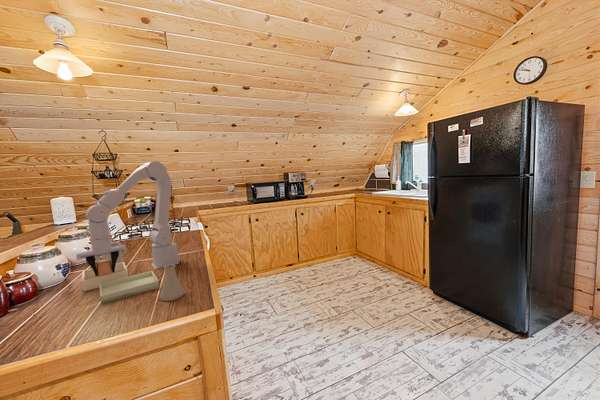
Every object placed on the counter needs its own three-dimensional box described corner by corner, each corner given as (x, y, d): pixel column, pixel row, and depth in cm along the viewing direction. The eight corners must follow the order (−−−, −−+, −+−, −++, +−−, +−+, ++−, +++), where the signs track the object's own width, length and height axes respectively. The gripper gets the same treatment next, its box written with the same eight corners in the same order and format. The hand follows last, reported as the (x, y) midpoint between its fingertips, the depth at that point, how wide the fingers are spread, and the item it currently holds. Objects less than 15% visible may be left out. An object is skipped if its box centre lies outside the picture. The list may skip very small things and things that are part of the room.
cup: (119, 266, 111) (117, 246, 110) (92, 270, 108) (89, 249, 107) (125, 261, 118) (123, 242, 117) (100, 264, 115) (97, 245, 114)
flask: (190, 292, 85) (187, 263, 83) (172, 303, 78) (169, 271, 77) (172, 289, 87) (169, 261, 86) (154, 300, 80) (150, 269, 79)
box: (125, 271, 105) (124, 261, 105) (128, 281, 95) (127, 270, 95) (84, 280, 97) (82, 270, 97) (83, 292, 87) (81, 281, 87)
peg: (112, 276, 99) (110, 258, 99) (113, 279, 96) (111, 261, 95) (98, 279, 97) (96, 261, 96) (98, 283, 93) (96, 264, 92)
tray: (152, 277, 98) (152, 270, 98) (159, 287, 89) (158, 280, 89) (100, 290, 88) (99, 283, 88) (101, 304, 79) (100, 296, 79)
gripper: (123, 232, 102) (127, 265, 104) (74, 239, 93) (80, 275, 95) (124, 235, 97) (129, 270, 98) (73, 243, 88) (79, 281, 89)
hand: (105, 273), depth 96 cm, fingers closed on peg, 4 cm apart
